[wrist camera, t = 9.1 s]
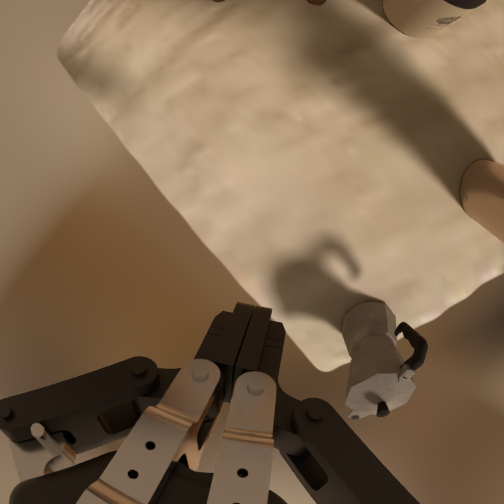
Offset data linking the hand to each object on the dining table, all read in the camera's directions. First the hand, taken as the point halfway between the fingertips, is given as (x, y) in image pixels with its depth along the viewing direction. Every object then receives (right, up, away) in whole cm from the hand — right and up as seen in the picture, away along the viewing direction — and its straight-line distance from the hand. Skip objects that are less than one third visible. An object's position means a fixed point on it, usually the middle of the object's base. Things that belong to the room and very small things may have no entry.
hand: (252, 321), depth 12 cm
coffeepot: (+19, -7, +30) cm, 36 cm away
